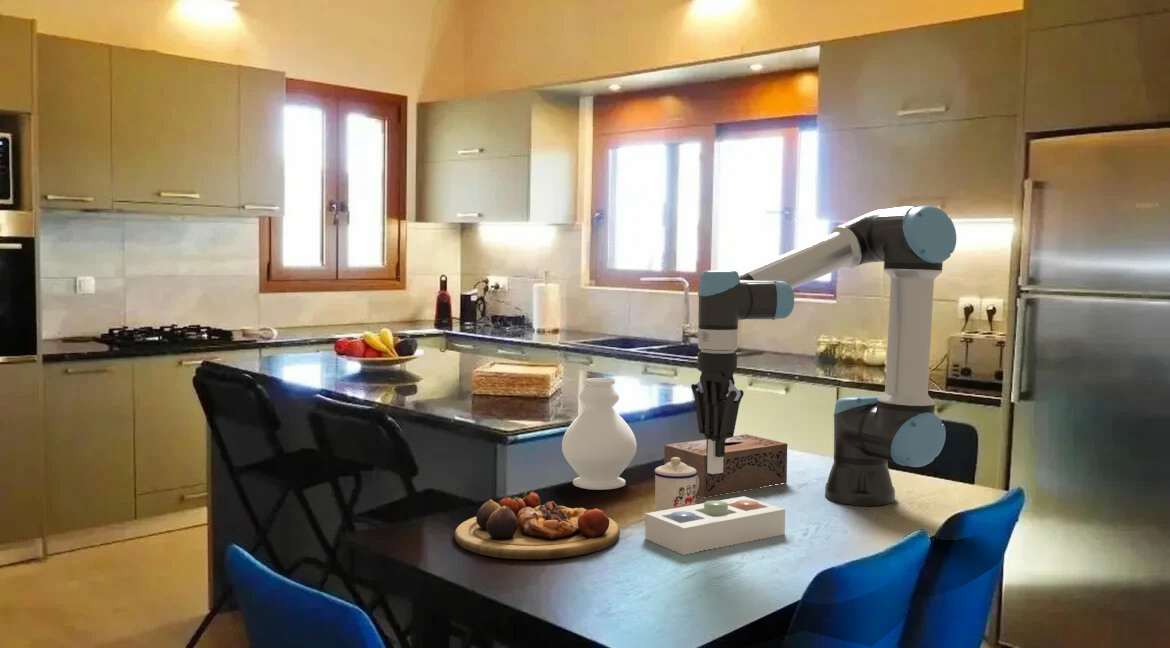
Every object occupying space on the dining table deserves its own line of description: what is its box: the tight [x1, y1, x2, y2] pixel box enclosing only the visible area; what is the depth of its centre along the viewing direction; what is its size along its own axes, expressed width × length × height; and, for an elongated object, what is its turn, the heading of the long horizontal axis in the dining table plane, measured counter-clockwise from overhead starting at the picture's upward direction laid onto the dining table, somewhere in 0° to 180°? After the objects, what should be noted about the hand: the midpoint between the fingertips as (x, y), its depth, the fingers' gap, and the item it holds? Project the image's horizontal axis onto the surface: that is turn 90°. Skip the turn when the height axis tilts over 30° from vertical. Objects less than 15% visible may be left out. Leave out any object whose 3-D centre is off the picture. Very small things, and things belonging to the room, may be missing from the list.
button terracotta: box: [735, 500, 759, 511], centre depth 192 cm, size 5×5×4 cm
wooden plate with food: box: [454, 490, 621, 560], centre depth 188 cm, size 32×32×8 cm
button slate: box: [671, 511, 695, 523], centre depth 183 cm, size 5×5×4 cm
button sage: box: [703, 500, 728, 517], centre depth 187 cm, size 5×5×4 cm
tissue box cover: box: [663, 433, 788, 499], centre depth 230 cm, size 26×14×10 cm, turn 123°
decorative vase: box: [561, 377, 637, 491], centre depth 231 cm, size 18×18×25 cm
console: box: [644, 495, 786, 556], centre depth 188 cm, size 25×12×5 cm, turn 122°
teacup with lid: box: [653, 457, 699, 512], centre depth 207 cm, size 12×9×12 cm
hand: (715, 472), depth 187 cm, fingers closed
